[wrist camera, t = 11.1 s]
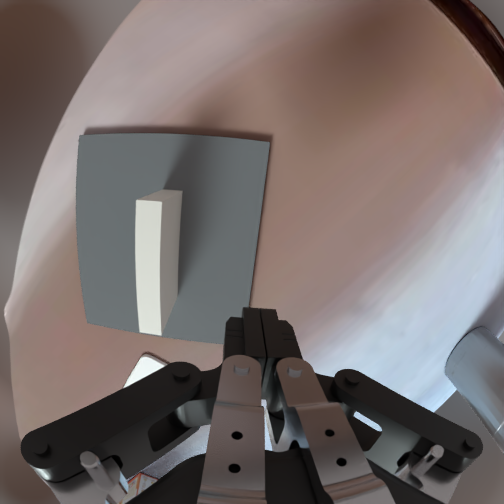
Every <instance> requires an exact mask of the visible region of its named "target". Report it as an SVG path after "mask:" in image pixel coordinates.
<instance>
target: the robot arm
mask: <svg viewBox="0 0 504 504" xmlns="http://www.w3.org/2000/svg"><path fill="white" fill-rule="evenodd" d="M296 340H297V339H296V336H295V333H294V330H293V327H292V326H291V325H290V324H289V323H288V322H287V321H286V320H278V316H277V312H276V310H275V309H263V308H260V309H259V308H250V307H243V308H242V315H241V317H230V318H229V319H228V320H227V322H226V325H225V336H224V347H223V362H222V364H221V365H220V366H219V367H217V368H215V369H212V370H208V371H200V370H199V369H198V368H197V367H196V366H195V365H193V364H191V363H187V362H173V363H170V364H168V365H166V366H164V367H162V368H161V369H159V370H157V371H155V372H153V373H151V374H150V375H148V376H146V377H144V378H142V379H140V380H138V381H136V382H134V383H133V384H131V385H129V386H127V387H125V388H123V389H121V390H119V391H117V392H115V393H113V394H111V395H109V396H107V397H105V398H103V399H101V400H99V401H97V402H95V403H93V404H91V405H89V406H87V407H84V408H82V409H80V410H78V411H76V412H74V413H72V414H70V415H67V416H65V417H63V418H61V419H59V420H56V421H54V422H52V423H49V424H47V425H45V426H43V427H40V428H38V429H36V430H33V431H31V432H29V433H28V434H26V435H25V437H24V438H23V440H22V442H21V453H22V455H23V457H24V459H25V460H26V461H27V463H28V464H29V465H30V466H31V467H32V468H33V469H34V470H35V472H36V473H37V475H38V476H39V477H40V478H41V479H42V480H43V481H44V482H45V483H46V484H47V485H48V486H49V487H50V488H51V490H52V491H53V493H54V494H55V496H56V497H57V499H58V500H59V502H60V503H61V504H118V503H119V502H120V501H121V500H122V499H123V498H125V496H126V495H127V493H128V483H127V480H126V479H128V478H130V477H131V476H133V475H134V474H136V473H138V472H139V471H141V470H142V469H144V468H145V467H147V466H148V465H150V464H151V463H153V462H154V461H156V460H157V459H159V458H160V457H162V456H163V455H165V454H166V453H168V452H169V451H170V450H172V449H173V448H175V447H176V446H177V445H179V444H180V443H182V442H183V441H184V440H186V439H187V438H188V437H190V436H191V435H192V434H194V433H195V432H196V431H197V430H199V428H200V426H203V425H209V424H211V427H210V433H209V439H208V445H207V451H206V453H204V454H200V455H197V456H194V457H191V458H189V459H187V460H185V461H183V462H181V463H180V464H178V465H177V466H176V467H174V468H173V469H172V470H171V471H169V472H168V473H167V474H165V475H164V476H163V477H161V478H160V479H159V480H157V481H156V482H155V483H153V484H152V485H151V486H149V487H148V488H147V489H145V490H144V491H142V492H141V493H140V494H138V495H137V496H135V497H134V498H132V499H131V500H129V501H128V502H126V503H125V504H448V503H449V501H450V498H451V497H452V495H453V492H454V490H455V488H456V485H457V483H458V481H459V478H460V476H461V473H462V472H463V471H464V470H465V469H466V468H467V467H468V466H469V465H471V463H472V462H474V461H475V459H477V458H478V457H479V456H480V454H481V453H482V450H483V444H482V442H481V439H480V438H479V436H477V435H476V434H475V433H473V432H471V431H469V430H467V429H465V428H463V427H461V426H459V425H457V424H455V423H453V422H451V421H449V420H447V419H445V418H443V417H441V416H439V415H437V414H435V413H433V412H431V411H430V410H428V409H426V408H424V407H422V406H420V405H418V404H416V403H414V402H413V401H411V400H409V399H407V398H405V397H403V396H401V395H400V394H398V393H396V392H394V391H392V390H391V389H389V388H387V387H385V386H383V385H382V384H380V383H378V382H376V381H375V380H373V379H371V378H369V377H368V376H366V375H364V374H362V373H361V372H359V371H356V370H353V369H343V370H340V371H338V372H337V373H336V374H335V376H334V377H329V376H325V375H320V374H317V373H315V372H314V370H313V368H312V366H311V365H310V364H309V363H308V362H306V361H304V360H303V358H302V355H301V352H300V349H299V346H298V342H297V341H296ZM445 374H446V376H447V377H448V378H449V380H450V381H451V382H452V383H453V385H454V386H455V387H456V389H457V390H458V391H459V393H460V394H461V395H462V397H463V398H464V399H465V400H466V402H467V403H468V404H469V406H470V407H471V408H472V410H473V411H474V413H475V414H476V415H477V417H478V418H479V419H480V421H481V422H482V424H483V425H484V426H485V428H486V429H487V430H488V432H489V433H490V435H491V436H492V438H493V439H494V440H495V442H496V443H497V445H498V446H499V448H500V449H501V451H502V452H503V453H504V344H503V343H502V342H501V341H500V340H499V339H498V338H497V337H495V336H494V335H493V334H492V333H491V332H490V331H489V330H487V329H486V328H485V327H479V328H476V329H474V330H473V331H471V332H470V333H469V334H467V335H466V336H465V337H464V338H463V339H462V340H461V341H460V342H459V344H458V345H457V346H456V347H455V349H454V350H453V352H452V353H451V355H450V357H449V359H448V361H447V364H446V367H445ZM261 399H266V402H267V406H266V410H265V418H266V422H267V427H268V431H269V436H270V440H271V444H272V449H273V451H269V450H265V423H264V407H263V406H261ZM356 411H357V412H359V413H360V414H362V415H364V416H365V417H367V418H369V419H370V420H372V421H374V422H375V423H377V424H378V425H380V427H381V428H382V431H377V430H375V429H373V428H372V427H370V426H368V425H367V424H365V423H363V422H362V421H360V420H359V419H357V418H355V417H354V416H353V415H354V413H355V412H356Z"/></svg>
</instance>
